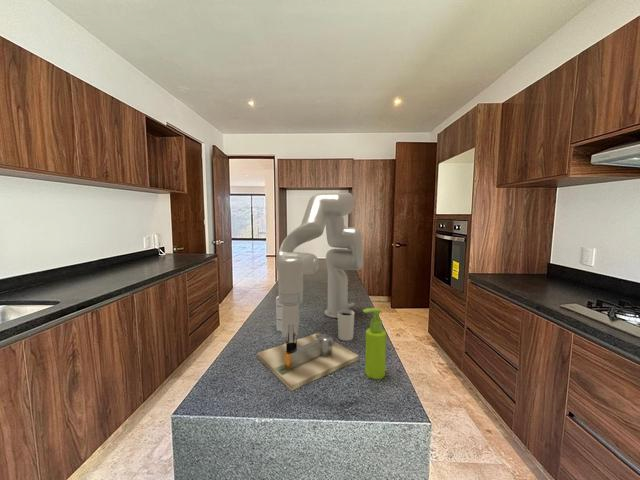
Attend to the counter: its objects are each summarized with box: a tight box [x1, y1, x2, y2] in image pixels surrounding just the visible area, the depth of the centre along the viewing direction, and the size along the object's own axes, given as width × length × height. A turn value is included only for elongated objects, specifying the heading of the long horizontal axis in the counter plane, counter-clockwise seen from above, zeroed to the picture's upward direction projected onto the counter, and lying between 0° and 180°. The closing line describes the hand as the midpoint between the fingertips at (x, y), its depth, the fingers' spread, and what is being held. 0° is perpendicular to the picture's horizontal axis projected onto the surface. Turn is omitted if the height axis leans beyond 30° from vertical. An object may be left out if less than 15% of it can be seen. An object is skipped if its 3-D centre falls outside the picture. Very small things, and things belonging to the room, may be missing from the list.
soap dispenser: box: [362, 307, 387, 380], centre depth 81 cm, size 6×7×20 cm
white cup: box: [337, 309, 355, 342], centre depth 106 cm, size 7×7×10 cm
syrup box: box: [275, 295, 282, 333], centre depth 113 cm, size 6×6×14 cm
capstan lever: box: [285, 333, 336, 369], centre depth 86 cm, size 18×8×5 cm, turn 132°
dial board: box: [256, 332, 360, 392], centre depth 90 cm, size 26×22×2 cm
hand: (291, 353), depth 85 cm, fingers closed
